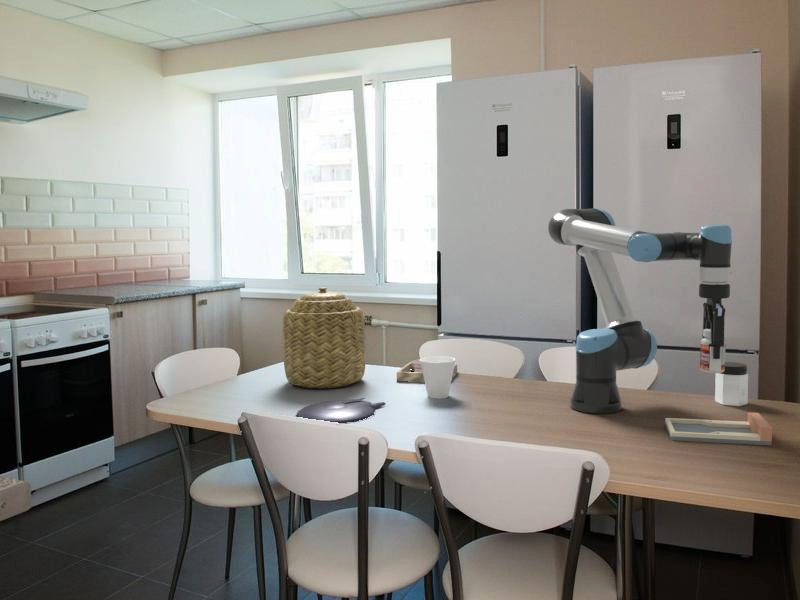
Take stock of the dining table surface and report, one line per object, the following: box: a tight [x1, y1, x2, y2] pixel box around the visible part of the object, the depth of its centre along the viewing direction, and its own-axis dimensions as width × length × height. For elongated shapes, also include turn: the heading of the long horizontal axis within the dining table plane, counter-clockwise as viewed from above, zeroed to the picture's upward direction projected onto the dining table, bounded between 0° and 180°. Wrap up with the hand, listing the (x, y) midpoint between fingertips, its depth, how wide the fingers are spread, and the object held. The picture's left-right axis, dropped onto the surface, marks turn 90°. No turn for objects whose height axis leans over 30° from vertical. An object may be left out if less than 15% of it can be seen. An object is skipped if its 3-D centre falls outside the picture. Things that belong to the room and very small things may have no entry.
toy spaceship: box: [295, 397, 386, 424], centre depth 209 cm, size 28×24×3 cm
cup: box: [420, 355, 456, 400], centre depth 226 cm, size 12×12×12 cm
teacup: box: [410, 358, 422, 372], centre depth 257 cm, size 12×12×6 cm
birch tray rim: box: [396, 361, 458, 384], centre depth 257 cm, size 19×19×4 cm
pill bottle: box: [699, 329, 727, 374], centre depth 186 cm, size 6×6×11 cm
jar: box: [714, 361, 749, 407], centre depth 209 cm, size 9×8×12 cm
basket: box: [282, 286, 367, 389], centre depth 250 cm, size 30×30×35 cm
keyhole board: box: [664, 412, 773, 446], centre depth 178 cm, size 23×14×4 cm, turn 75°
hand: (712, 367), depth 186 cm, fingers closed on pill bottle, 6 cm apart
